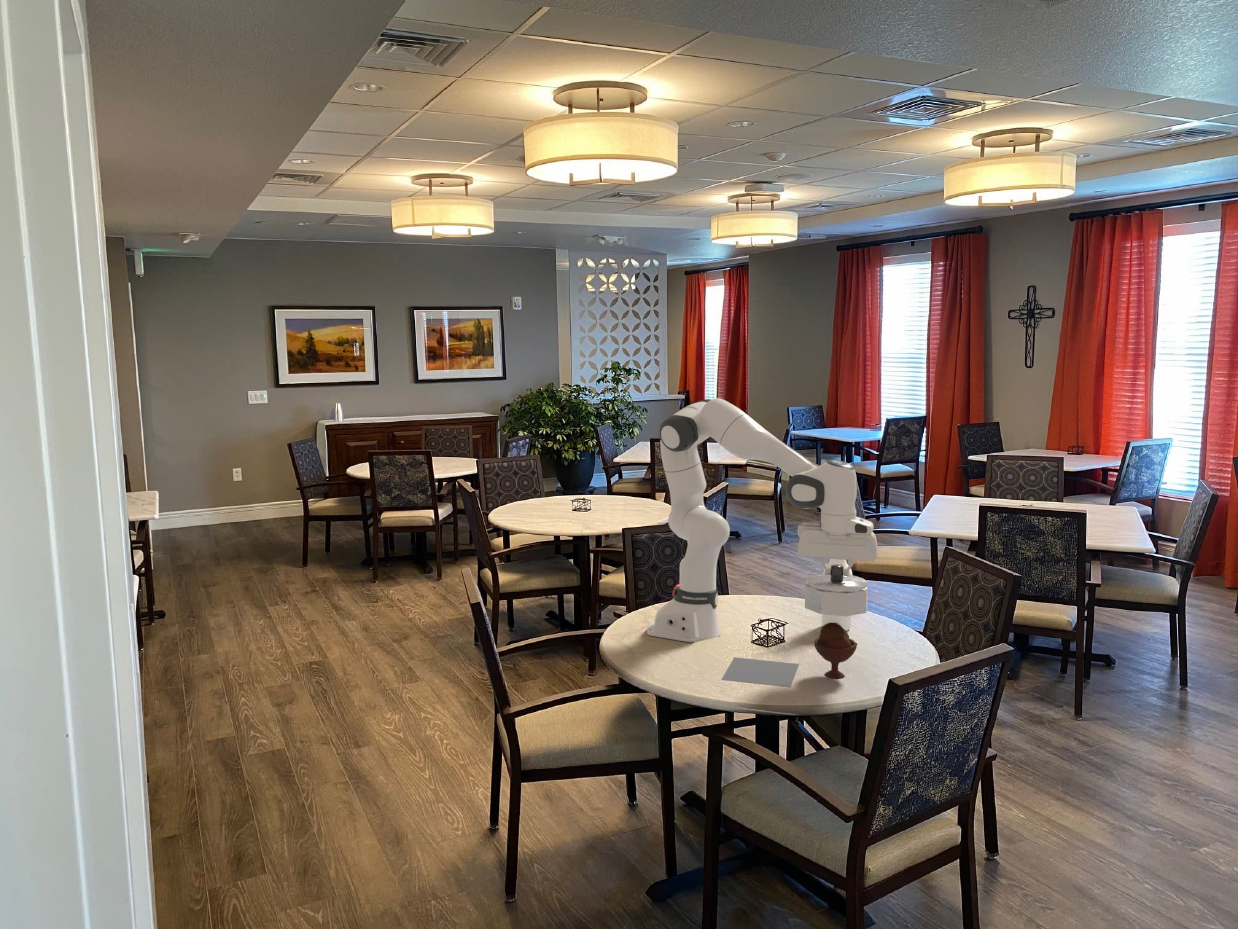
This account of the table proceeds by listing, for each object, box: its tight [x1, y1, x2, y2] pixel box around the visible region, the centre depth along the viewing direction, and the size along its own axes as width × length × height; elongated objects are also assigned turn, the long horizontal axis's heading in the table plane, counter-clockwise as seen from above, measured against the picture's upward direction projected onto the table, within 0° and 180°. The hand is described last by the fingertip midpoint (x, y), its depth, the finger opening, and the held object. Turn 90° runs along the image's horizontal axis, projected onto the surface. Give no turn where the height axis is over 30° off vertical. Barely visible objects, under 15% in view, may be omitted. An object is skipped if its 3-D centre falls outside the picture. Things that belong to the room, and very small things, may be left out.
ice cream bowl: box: [813, 622, 858, 680], centre depth 239 cm, size 11×11×15 cm
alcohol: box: [821, 559, 853, 632], centre depth 280 cm, size 9×9×30 cm
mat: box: [721, 656, 800, 688], centre depth 243 cm, size 18×18×1 cm
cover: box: [804, 565, 869, 617], centre depth 237 cm, size 16×16×11 cm
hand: (836, 575), depth 237 cm, fingers closed on cover, 3 cm apart
